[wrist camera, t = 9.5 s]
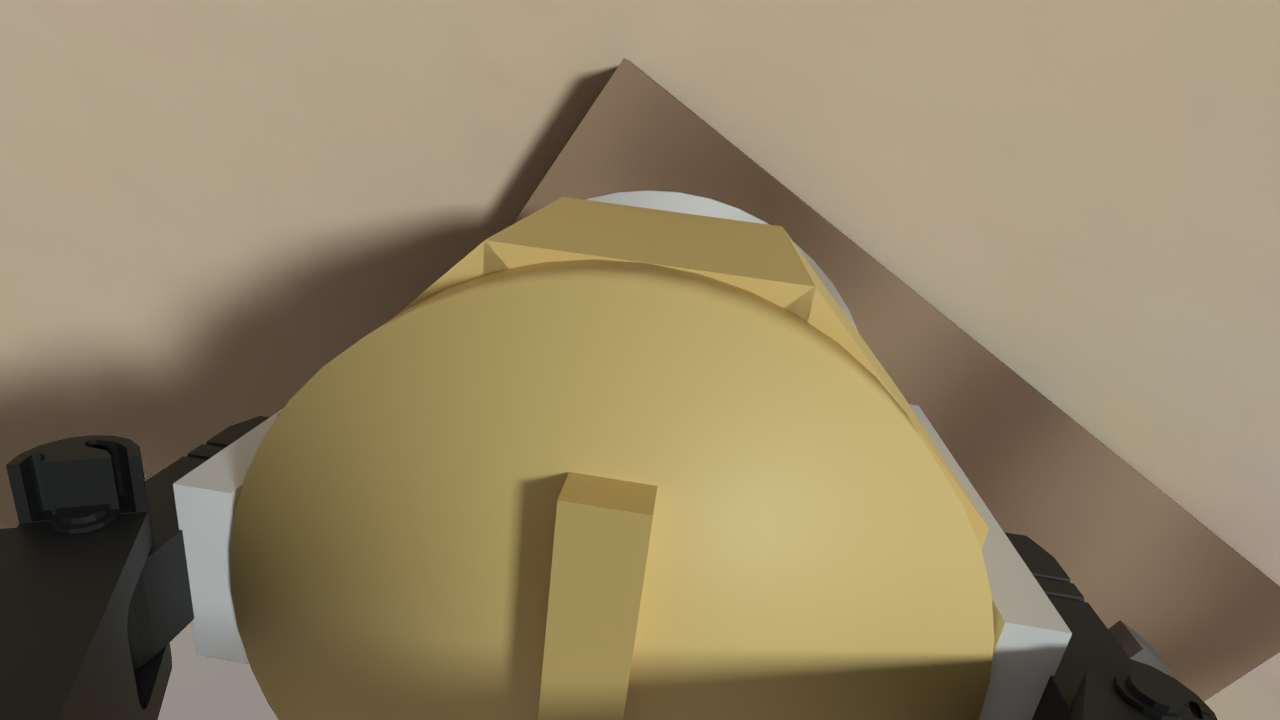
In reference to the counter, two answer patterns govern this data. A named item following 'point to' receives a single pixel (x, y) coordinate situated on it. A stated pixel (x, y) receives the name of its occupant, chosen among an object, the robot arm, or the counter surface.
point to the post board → (957, 400)
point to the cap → (611, 499)
